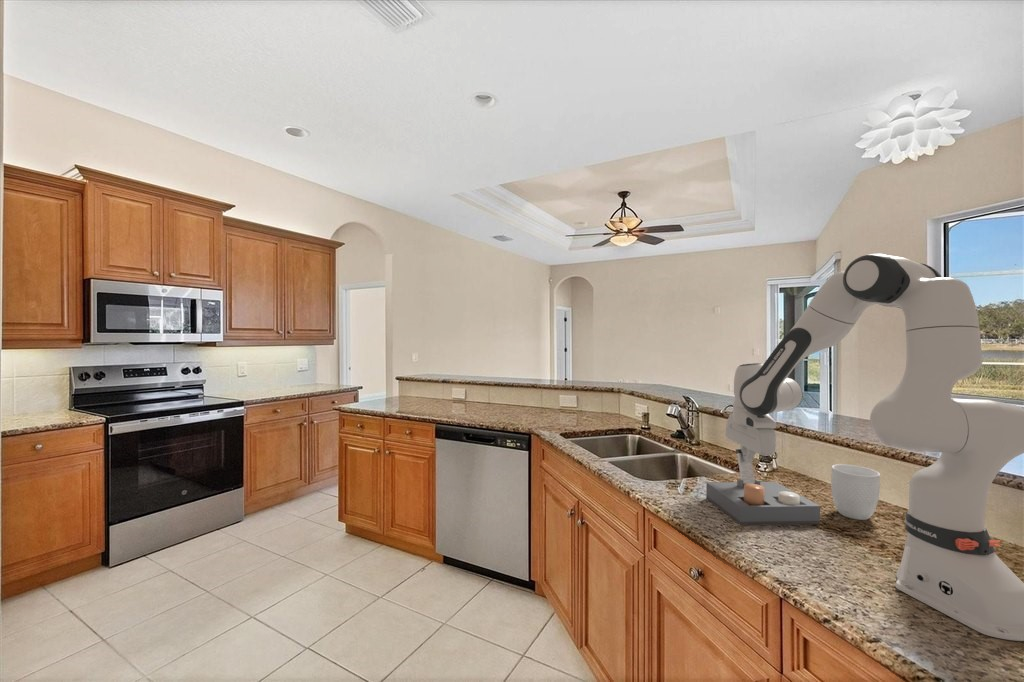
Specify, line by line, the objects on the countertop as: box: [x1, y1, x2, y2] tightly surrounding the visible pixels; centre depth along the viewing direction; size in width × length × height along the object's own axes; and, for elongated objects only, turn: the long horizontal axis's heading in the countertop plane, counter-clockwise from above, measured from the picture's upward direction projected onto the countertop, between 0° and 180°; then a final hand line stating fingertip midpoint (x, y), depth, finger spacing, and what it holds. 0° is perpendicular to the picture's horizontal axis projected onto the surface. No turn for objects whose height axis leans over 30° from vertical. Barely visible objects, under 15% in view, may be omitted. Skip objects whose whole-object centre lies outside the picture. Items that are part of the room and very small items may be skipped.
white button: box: [778, 491, 800, 505], centre depth 124 cm, size 5×5×5 cm
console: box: [705, 478, 821, 526], centre depth 130 cm, size 19×22×7 cm
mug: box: [830, 463, 881, 521], centre depth 128 cm, size 15×11×13 cm
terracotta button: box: [744, 484, 765, 505], centre depth 124 cm, size 5×5×5 cm
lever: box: [735, 448, 756, 486], centre depth 137 cm, size 2×4×11 cm, turn 93°
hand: (747, 461), depth 135 cm, fingers closed
